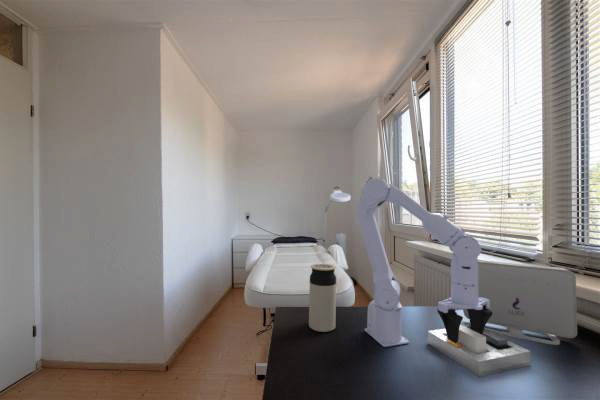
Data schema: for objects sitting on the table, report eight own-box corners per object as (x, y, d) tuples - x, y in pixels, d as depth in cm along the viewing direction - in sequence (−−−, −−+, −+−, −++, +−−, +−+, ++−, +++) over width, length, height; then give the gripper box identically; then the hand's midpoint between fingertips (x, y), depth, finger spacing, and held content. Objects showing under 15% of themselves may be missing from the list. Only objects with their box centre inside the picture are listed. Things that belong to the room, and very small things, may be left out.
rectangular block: (446, 344, 64) (446, 323, 65) (455, 343, 65) (455, 321, 65) (476, 363, 57) (476, 338, 57) (486, 361, 58) (485, 336, 58)
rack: (427, 343, 66) (427, 324, 67) (473, 335, 71) (472, 318, 71) (479, 377, 53) (479, 353, 53) (530, 365, 58) (530, 344, 58)
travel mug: (336, 333, 71) (337, 269, 72) (308, 332, 71) (310, 268, 72) (333, 321, 79) (334, 263, 79) (308, 320, 79) (309, 262, 80)
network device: (464, 327, 77) (464, 261, 77) (461, 316, 84) (461, 257, 85) (582, 350, 65) (580, 272, 66) (566, 336, 72) (564, 266, 73)
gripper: (456, 289, 56) (456, 351, 55) (502, 285, 60) (503, 343, 59) (431, 281, 63) (431, 336, 62) (474, 278, 67) (474, 329, 66)
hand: (464, 338), depth 61 cm, fingers open, 7 cm apart
